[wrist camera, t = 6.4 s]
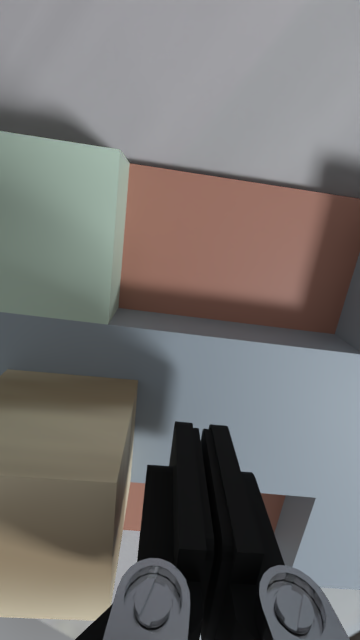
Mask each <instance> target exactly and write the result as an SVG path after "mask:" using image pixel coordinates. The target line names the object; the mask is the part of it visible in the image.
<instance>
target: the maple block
mask: <svg viewBox="0 0 360 640" xmlns="http://www.w3.org/2000/svg"><path fill="white" fill-rule="evenodd" d="M137 389H138V380H130V379H118V378H106V377H94V376H82V375H70V374H58V373H46V372H34V371H22V370H10V369H7V370H6V371H5V372H4V373H3V374H2V375H1V376H0V617H12V618H38V619H64V620H91V621H95V620H96V619H97V618H98V617H99V616H100V615H101V614H103V613H104V612H105V611H106V610H107V609H108V608H109V607H110V606H111V602H112V595H113V589H114V583H115V576H116V570H117V564H118V557H119V551H120V545H121V538H122V532H123V526H124V519H125V513H126V507H127V500H128V494H129V488H130V481H131V468H132V455H133V442H134V429H135V416H136V402H137Z"/></svg>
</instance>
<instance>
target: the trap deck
mask: <svg viewBox="0 0 360 640" xmlns="http://www.w3.org/2000/svg"><path fill="white" fill-rule="evenodd" d="M7 369H10V370H22V371H34V372H46V373H58V374H70V375H82V376H94V377H106V378H118V379H130V380H138V389H137V402H136V416H135V429H134V442H133V455H132V468H131V481H130V488H129V494H128V500H127V507H126V513H125V519H124V526H123V530H134V531H140V530H141V519H142V509H143V500H144V490H145V481H146V471H147V465H161V466H169V462H170V454H171V447H172V439H173V431H174V424H175V421H177V422H189V423H192V424H193V428H199V433H200V440H201V436H202V431H203V429H209V425H210V424H213V425H225V426H228V428H229V431H230V435H231V438H232V442H233V445H234V449H235V452H236V456H237V459H238V463H239V466H240V470H241V472H252V473H253V474H254V476H255V478H256V481H257V484H258V487H259V490H260V493H261V496H262V499H263V502H264V505H265V508H266V510H267V513H268V516H269V519H270V522H271V525H272V528H273V531H274V534H275V537H276V540H277V543H278V546H279V549H280V552H281V555H282V558H283V561H284V564H285V566H290V567H293V568H296V569H299V570H300V571H302V572H303V573H305V574H306V575H308V576H309V577H310V578H311V579H312V580H313V581H314V582H315V583H316V584H317V585H318V586H319V587H324V588H340V589H355V590H360V199H359V198H352V197H346V196H339V195H333V194H326V193H320V192H313V191H307V190H300V189H294V188H287V187H281V186H274V185H267V184H261V183H254V182H248V181H241V180H235V179H228V178H222V177H215V176H209V175H202V174H196V173H189V172H183V171H176V170H170V169H163V168H157V167H150V166H144V165H137V164H131V163H129V162H128V160H127V159H126V157H125V156H124V154H123V153H122V152H121V150H119V149H113V148H106V147H100V146H94V145H87V144H81V143H74V142H68V141H62V140H55V139H49V138H42V137H36V136H30V135H23V134H17V133H10V132H4V131H0V376H1V375H2V374H3V373H4V372H5V371H6V370H7Z"/></svg>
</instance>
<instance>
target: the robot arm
mask: <svg viewBox="0 0 360 640" xmlns="http://www.w3.org/2000/svg"><path fill="white" fill-rule="evenodd" d="M200 633H201V640H350V639H349V637H348V635H347V634H346V632H345V630H344V628H343V626H342V624H341V623H340V621H339V619H338V617H337V615H336V613H335V611H334V610H333V608H332V606H331V604H330V602H329V600H328V599H327V597H326V596H325V594H324V593H323V591H322V590H321V588H320V587H319V586H318V585H317V584H316V583H315V582H314V581H313V580H312V579H311V578H310V577H309V576H308V575H306V574H305V573H303V572H302V571H300V570H299V569H296V568H293V567H290V566H285V564H284V561H283V558H282V555H281V552H280V549H279V546H278V543H277V540H276V537H275V534H274V531H273V528H272V525H271V522H270V519H269V516H268V513H267V510H266V508H265V505H264V502H263V499H262V496H261V493H260V490H259V487H258V484H257V481H256V478H255V476H254V474H253V473H252V472H241V470H240V466H239V463H238V459H237V456H236V452H235V449H234V445H233V442H232V438H231V435H230V431H229V428H228V426H225V425H213V424H210V425H209V429H203V431H202V436H201V440H200V433H199V428H193V424H192V423H189V422H177V421H175V424H174V431H173V439H172V447H171V454H170V462H169V466H161V465H147V471H146V481H145V490H144V500H143V509H142V519H141V530H140V540H139V550H138V560H137V563H136V564H134V565H133V566H131V567H130V568H129V569H128V570H127V572H126V573H125V574H124V575H123V576H122V579H121V581H120V583H119V586H118V588H117V591H116V595H115V598H114V602H113V604H112V605H111V606H110V607H109V608H108V609H107V610H106V611H105V612H104V613H103V614H101V615H100V616H99V617H98V618H97V619H96V620H95V621H94V622H93V623H92V624H91V625H90V626H89V627H88V628H87V629H86V630H85V631H84V632H83V633H82V634H80V635H79V636H78V637H77V638H76V639H75V640H199V638H200Z"/></svg>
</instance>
